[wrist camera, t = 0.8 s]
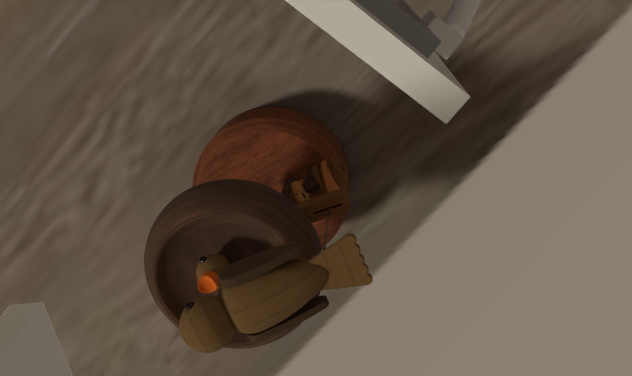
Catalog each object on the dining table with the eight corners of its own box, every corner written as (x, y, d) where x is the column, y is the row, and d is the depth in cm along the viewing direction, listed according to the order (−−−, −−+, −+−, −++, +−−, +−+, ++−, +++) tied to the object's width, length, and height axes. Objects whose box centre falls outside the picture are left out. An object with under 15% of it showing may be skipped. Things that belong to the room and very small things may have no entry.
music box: (295, 52, 38) (268, 176, 20) (396, 170, 42) (450, 366, 24) (138, 187, 43) (-1, 389, 24) (241, 284, 46) (186, 524, 28)
